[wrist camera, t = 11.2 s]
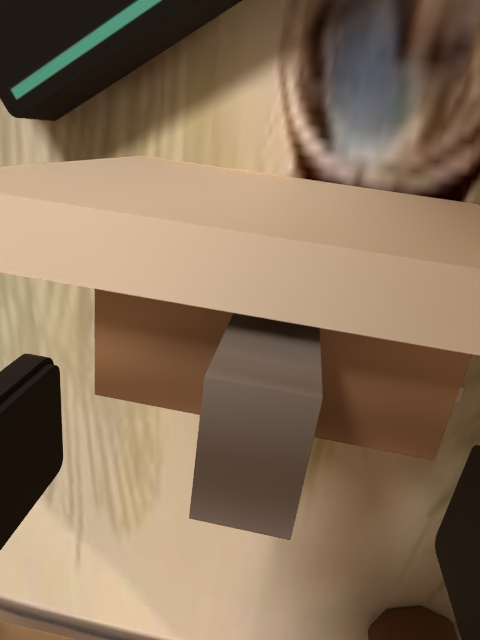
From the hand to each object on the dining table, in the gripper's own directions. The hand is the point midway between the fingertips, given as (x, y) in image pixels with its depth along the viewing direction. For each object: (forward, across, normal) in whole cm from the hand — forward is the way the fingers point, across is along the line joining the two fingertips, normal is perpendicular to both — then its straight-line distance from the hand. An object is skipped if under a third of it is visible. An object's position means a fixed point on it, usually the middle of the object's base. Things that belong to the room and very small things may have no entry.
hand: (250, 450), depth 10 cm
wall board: (+20, 0, +1) cm, 20 cm away
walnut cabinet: (+15, 0, 0) cm, 15 cm away
